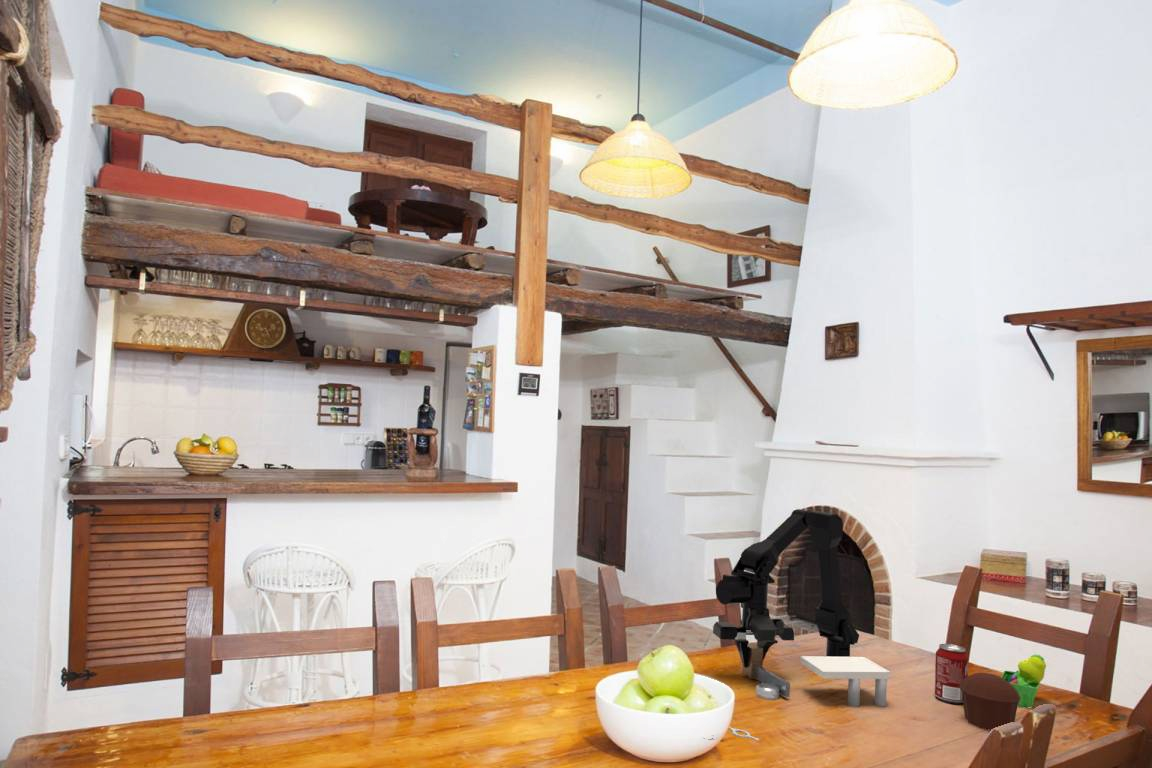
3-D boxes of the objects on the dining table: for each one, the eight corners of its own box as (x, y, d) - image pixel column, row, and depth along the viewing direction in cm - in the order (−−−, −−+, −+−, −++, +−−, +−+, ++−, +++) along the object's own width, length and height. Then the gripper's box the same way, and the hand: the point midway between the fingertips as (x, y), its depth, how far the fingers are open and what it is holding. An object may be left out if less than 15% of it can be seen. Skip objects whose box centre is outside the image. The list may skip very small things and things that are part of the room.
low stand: (799, 688, 178) (800, 656, 178) (862, 689, 180) (863, 656, 181) (822, 706, 167) (823, 671, 167) (889, 706, 169) (890, 672, 170)
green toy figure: (1003, 690, 186) (1004, 643, 186) (1046, 700, 181) (1047, 651, 181) (998, 703, 176) (1000, 653, 177) (1043, 713, 171) (1044, 662, 172)
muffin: (1028, 727, 162) (1029, 679, 162) (1008, 738, 155) (1010, 688, 155) (969, 709, 171) (971, 664, 171) (948, 719, 163) (950, 672, 164)
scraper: (742, 673, 185) (743, 643, 186) (753, 672, 186) (754, 643, 187) (781, 697, 169) (782, 665, 170) (793, 696, 170) (794, 664, 170)
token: (761, 700, 169) (762, 690, 169) (752, 692, 174) (752, 683, 174) (782, 700, 170) (783, 690, 170) (773, 692, 175) (773, 683, 175)
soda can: (963, 707, 172) (965, 653, 172) (931, 699, 176) (933, 646, 176) (969, 700, 177) (971, 647, 178) (937, 692, 181) (939, 641, 182)
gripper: (730, 609, 176) (727, 678, 175) (806, 610, 179) (803, 678, 178) (713, 597, 187) (710, 662, 186) (785, 599, 190) (782, 663, 189)
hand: (751, 667), depth 184 cm, fingers closed on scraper, 3 cm apart
